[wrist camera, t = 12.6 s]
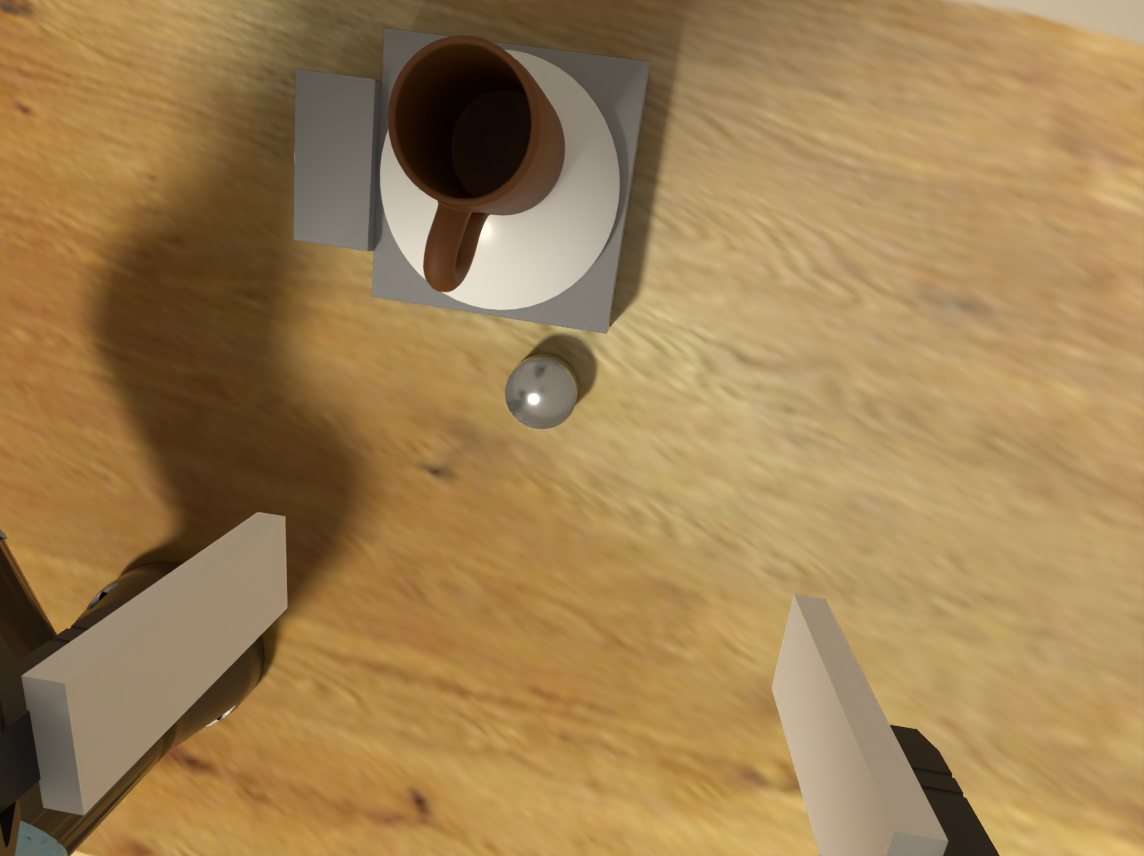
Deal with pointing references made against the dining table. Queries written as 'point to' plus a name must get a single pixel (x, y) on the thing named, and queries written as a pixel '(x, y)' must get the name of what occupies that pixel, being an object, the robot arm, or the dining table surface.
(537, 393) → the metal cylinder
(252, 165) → the dining table surface
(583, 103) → the scale
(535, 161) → the mug
